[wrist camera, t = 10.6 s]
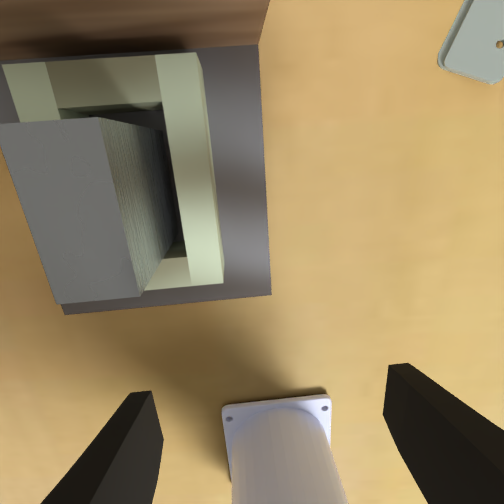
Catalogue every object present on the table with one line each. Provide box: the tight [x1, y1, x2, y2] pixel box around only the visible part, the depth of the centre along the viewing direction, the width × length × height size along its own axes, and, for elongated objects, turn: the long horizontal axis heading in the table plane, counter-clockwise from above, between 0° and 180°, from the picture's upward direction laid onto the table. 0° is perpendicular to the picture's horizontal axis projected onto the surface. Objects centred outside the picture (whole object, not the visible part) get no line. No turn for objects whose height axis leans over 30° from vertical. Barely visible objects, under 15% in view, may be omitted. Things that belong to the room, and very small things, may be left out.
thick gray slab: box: [0, 117, 179, 304], centre depth 11 cm, size 5×2×7 cm, turn 4°
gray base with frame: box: [0, 0, 272, 315], centre depth 13 cm, size 14×12×6 cm
